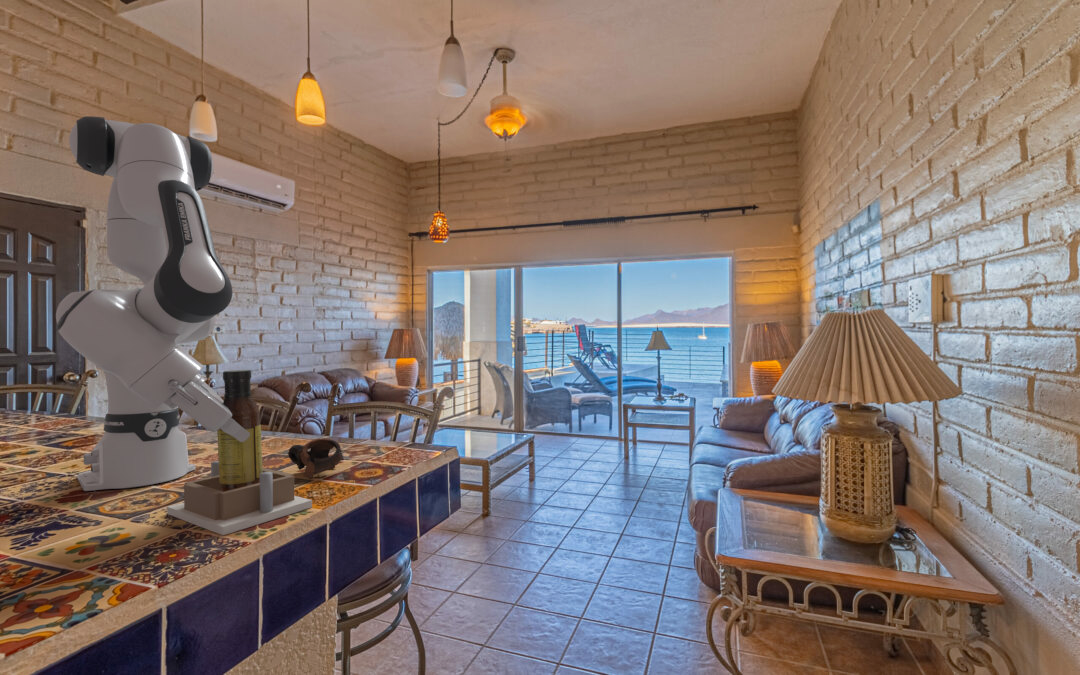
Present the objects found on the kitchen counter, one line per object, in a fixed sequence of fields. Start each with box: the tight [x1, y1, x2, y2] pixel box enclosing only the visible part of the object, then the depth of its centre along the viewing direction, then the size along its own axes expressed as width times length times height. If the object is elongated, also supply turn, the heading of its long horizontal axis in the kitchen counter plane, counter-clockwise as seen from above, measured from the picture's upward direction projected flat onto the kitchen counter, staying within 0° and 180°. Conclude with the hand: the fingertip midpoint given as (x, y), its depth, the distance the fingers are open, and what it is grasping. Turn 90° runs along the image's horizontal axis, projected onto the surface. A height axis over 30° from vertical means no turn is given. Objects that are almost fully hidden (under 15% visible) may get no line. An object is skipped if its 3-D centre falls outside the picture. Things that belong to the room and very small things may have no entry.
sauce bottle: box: [216, 369, 264, 492], centre depth 82 cm, size 6×6×20 cm
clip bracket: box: [166, 460, 313, 536], centre depth 82 cm, size 18×14×7 cm
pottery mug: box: [287, 437, 345, 480], centre depth 106 cm, size 12×10×8 cm
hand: (244, 435), depth 83 cm, fingers closed on sauce bottle, 6 cm apart
